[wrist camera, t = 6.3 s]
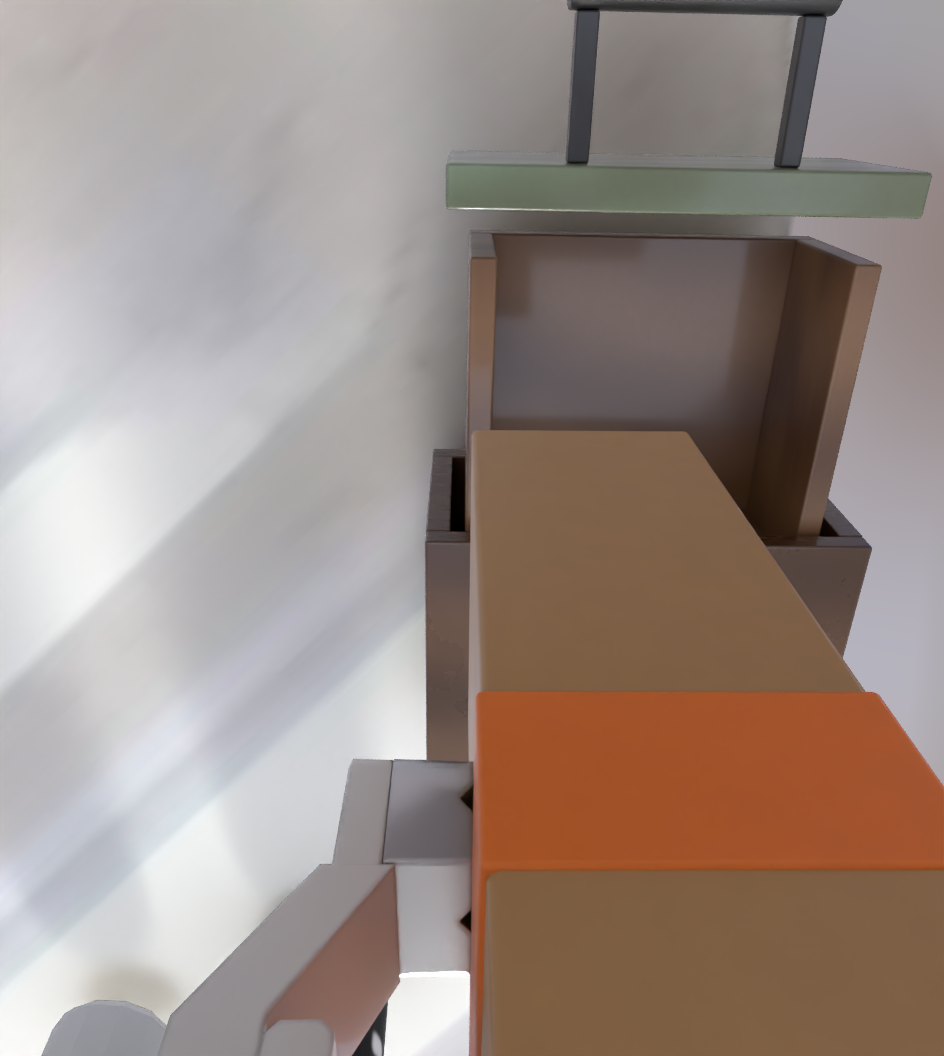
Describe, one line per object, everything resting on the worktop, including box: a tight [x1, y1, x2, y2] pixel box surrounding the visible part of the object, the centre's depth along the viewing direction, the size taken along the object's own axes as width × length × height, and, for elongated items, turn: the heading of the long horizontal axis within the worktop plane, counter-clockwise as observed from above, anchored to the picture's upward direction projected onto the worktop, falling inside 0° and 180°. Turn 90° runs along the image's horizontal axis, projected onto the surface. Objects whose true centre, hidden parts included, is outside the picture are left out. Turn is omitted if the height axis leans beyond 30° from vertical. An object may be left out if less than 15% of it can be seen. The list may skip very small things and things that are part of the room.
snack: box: [468, 430, 944, 1056], centre depth 10 cm, size 6×4×11 cm, turn 179°
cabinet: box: [425, 449, 872, 761], centre depth 34 cm, size 15×15×8 cm
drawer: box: [446, 0, 932, 537], centre depth 28 cm, size 19×13×6 cm
